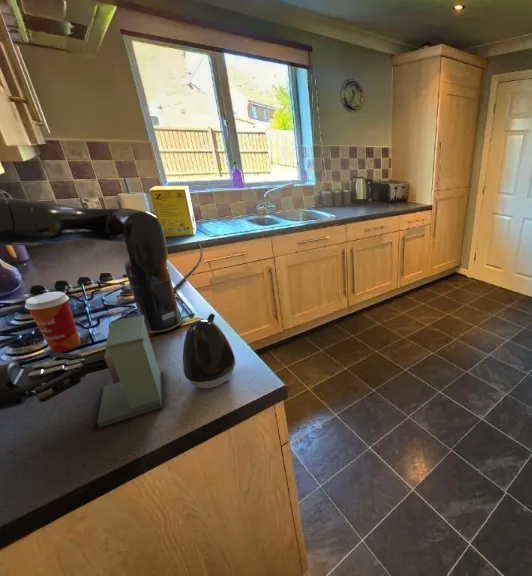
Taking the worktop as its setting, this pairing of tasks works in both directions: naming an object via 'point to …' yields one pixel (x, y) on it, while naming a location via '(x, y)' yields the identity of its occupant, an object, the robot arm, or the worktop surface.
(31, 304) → the paper cup
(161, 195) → the packaging box
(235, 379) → the worktop surface
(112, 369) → the plate
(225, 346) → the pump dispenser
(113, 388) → the dispenser housing
